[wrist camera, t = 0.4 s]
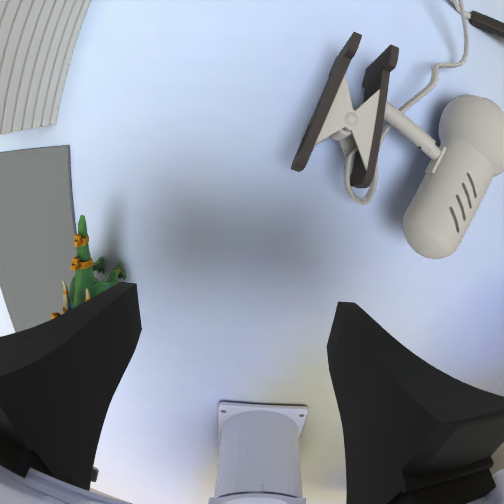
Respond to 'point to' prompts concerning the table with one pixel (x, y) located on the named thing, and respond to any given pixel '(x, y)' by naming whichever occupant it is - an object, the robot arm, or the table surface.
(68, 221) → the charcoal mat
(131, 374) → the table surface
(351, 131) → the clip-on lamp
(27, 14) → the stack of papers
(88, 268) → the figurine
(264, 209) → the table surface
